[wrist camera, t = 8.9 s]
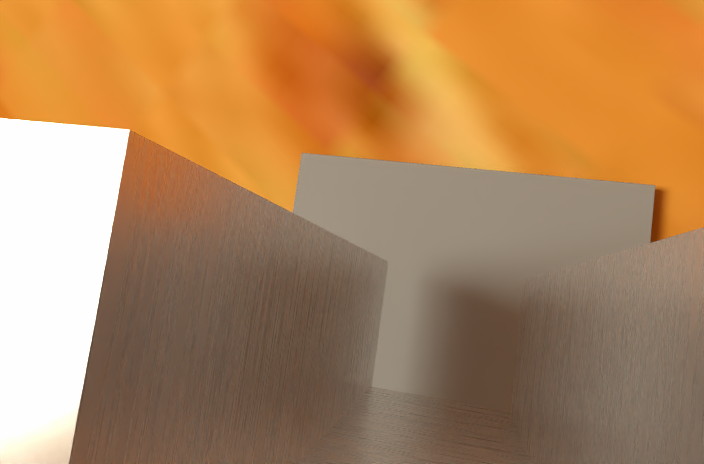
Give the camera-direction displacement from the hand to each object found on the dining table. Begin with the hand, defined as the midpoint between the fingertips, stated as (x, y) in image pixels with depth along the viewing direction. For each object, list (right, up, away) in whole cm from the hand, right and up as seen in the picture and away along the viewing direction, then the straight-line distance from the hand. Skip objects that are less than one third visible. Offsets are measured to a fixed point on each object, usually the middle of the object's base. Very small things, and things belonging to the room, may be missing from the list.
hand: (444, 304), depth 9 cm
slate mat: (+2, -2, +8) cm, 9 cm away
